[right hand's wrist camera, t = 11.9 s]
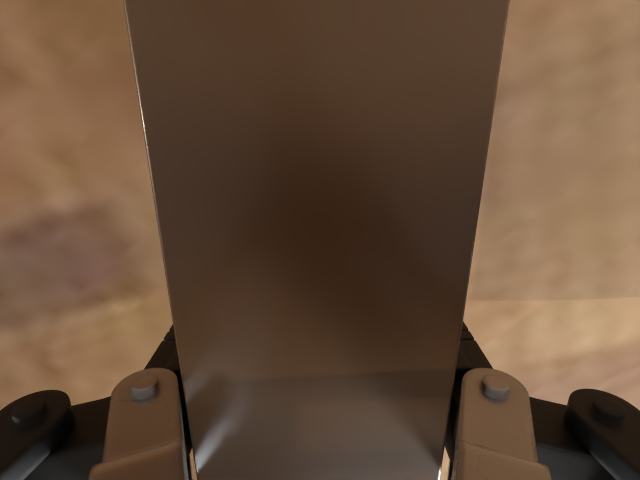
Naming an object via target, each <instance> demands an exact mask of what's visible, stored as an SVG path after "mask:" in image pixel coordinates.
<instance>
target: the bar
mask: <svg viewBox="0 0 640 480" xmlns="http://www.w3.org/2000/svg"><path fill="white" fill-rule="evenodd" d="M123 2H124V9H125V15H126V22H127V28H128V35H129V41H130V47H131V54H132V60H133V67H134V73H135V80H136V86H137V93H138V99H139V106H140V112H141V119H142V125H143V132H144V138H145V144H146V151H147V157H148V164H149V170H150V177H151V183H152V190H153V196H154V203H155V209H156V216H157V222H158V229H159V235H160V241H161V248H162V254H163V261H164V267H165V274H166V280H167V287H168V293H169V300H170V306H171V313H172V319H173V325H174V332H175V338H176V345H177V351H178V358H179V364H180V371H181V377H182V384H183V390H184V397H185V403H186V410H187V416H188V422H189V429H190V435H191V442H192V448H193V455H194V461H195V468H196V474H197V480H440V473H441V467H442V460H443V453H444V446H445V439H446V432H447V426H448V419H449V412H450V405H451V398H452V391H453V385H454V378H455V371H456V364H457V357H458V350H459V344H460V337H461V330H462V323H463V316H464V309H465V303H466V296H467V289H468V282H469V275H470V268H471V262H472V255H473V248H474V241H475V234H476V227H477V221H478V214H479V207H480V200H481V193H482V186H483V180H484V173H485V166H486V159H487V152H488V145H489V139H490V132H491V125H492V118H493V111H494V104H495V98H496V91H497V84H498V77H499V70H500V63H501V57H502V50H503V43H504V36H505V29H506V22H507V16H508V9H509V2H510V0H123Z"/></svg>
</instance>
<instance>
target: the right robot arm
mask: <svg viewBox="0 0 640 480" xmlns="http://www.w3.org/2000/svg"><path fill="white" fill-rule="evenodd" d="M445 448H446V450H447V453H448V456H449V459H450V461H449V468H448V477H447V480H640V411H639V410H638V409H637V408H636V407H634V406H633V405H631V404H630V403H628V402H627V401H625V400H623V399H621V398H619V397H617V396H615V395H613V394H610V393H607V392H604V391H600V390H595V389H579V390H576V391H574V392H572V393H571V395H570V397H569V400H568V403H567V405H562V404H558V403H553V402H549V401H544V400H540V399H536V398H532V397H529V395H528V392H527V390H526V388H525V387H524V386H523V385H522V384H521V383H520V382H519V381H518V380H517V379H515V378H514V377H512V376H511V375H509V374H507V373H504V372H502V371H499V370H495V369H493V368H492V366H491V365H490V363H489V361H488V360H487V358H486V357H485V355H484V354H483V352H482V350H481V349H480V347H479V346H478V344H477V342H476V341H474V338H473V336H472V335H471V333H470V331H468V328H467V327H466V325H465V323H464V322H463V323H462V330H461V337H460V344H459V350H458V357H457V364H456V371H455V378H454V385H453V391H452V398H451V405H450V412H449V419H448V426H447V432H446V439H445ZM191 449H192V442H191V435H190V429H189V422H188V416H187V410H186V403H185V397H184V390H183V384H182V377H181V371H180V364H179V358H178V351H177V345H176V338H175V332H174V325H172V327H171V328H170V330H169V332H168V333H167V334H166V336H165V337H164V341H162V342H161V344H160V345H159V347H158V348H157V350H156V352H155V353H154V355H153V356H152V358H151V359H150V361H149V362H148V364H147V366H146V367H145V369H144V370H141V371H138V372H136V373H133V374H131V375H129V376H128V377H126V378H125V379H123V380H122V381H121V382H120V383H119V384H118V385H117V386H116V387H115V388H114V390H113V392H112V395H111V396H110V397H107V398H104V399H100V400H96V401H91V402H87V403H82V404H78V405H74V406H71V403H70V399H69V397H68V395H67V394H66V393H64V392H62V391H59V390H45V391H39V392H35V393H32V394H29V395H26V396H24V397H22V398H20V399H18V400H16V401H14V402H12V403H10V404H9V405H7V406H6V407H5V408H3V409H2V410H1V411H0V480H193V477H192V468H191V461H190V455H189V454H190V452H191Z"/></svg>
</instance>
